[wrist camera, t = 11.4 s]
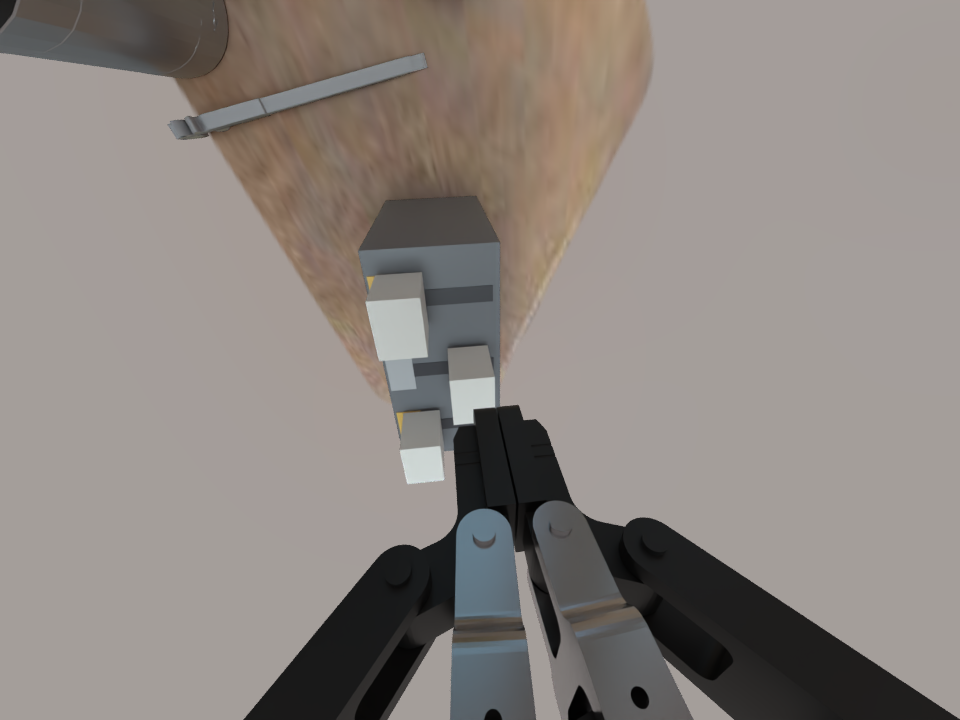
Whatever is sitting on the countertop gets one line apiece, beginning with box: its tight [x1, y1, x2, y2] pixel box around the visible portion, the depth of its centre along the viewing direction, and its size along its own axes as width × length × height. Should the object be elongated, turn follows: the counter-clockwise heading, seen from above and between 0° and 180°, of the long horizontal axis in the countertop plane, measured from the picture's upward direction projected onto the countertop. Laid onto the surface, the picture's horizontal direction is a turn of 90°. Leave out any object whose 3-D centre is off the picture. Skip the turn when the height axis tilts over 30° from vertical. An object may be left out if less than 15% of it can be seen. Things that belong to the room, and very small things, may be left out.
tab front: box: [365, 272, 429, 361], centre depth 23 cm, size 3×4×4 cm
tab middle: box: [448, 345, 495, 425], centre depth 27 cm, size 3×4×4 cm
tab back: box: [400, 410, 445, 484], centre depth 30 cm, size 3×4×4 cm
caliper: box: [168, 53, 428, 140], centre depth 28 cm, size 20×1×6 cm, turn 104°
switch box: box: [358, 196, 500, 451], centre depth 35 cm, size 9×19×16 cm, turn 2°
